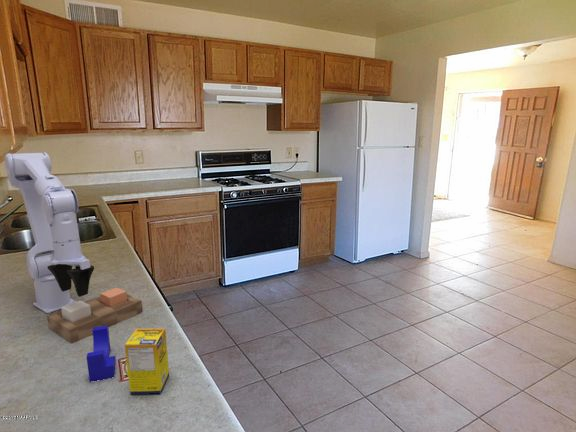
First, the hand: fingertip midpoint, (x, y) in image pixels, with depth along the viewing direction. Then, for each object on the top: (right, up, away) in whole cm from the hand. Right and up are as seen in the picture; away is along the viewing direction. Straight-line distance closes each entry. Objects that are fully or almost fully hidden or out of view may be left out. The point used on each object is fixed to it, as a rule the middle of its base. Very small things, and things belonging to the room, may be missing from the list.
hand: (74, 292), depth 93 cm
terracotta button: (+6, -5, +10) cm, 12 cm away
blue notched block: (+14, -13, -12) cm, 22 cm away
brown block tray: (+3, -9, +6) cm, 11 cm away
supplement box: (+26, -15, -19) cm, 35 cm away
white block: (0, -7, +2) cm, 7 cm away
